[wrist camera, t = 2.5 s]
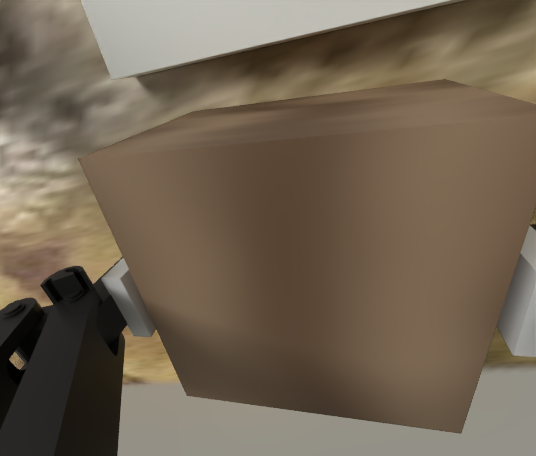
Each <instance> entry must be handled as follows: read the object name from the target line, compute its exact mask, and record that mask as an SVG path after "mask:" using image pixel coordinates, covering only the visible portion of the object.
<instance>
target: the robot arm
mask: <svg viewBox="0 0 536 456" xmlns="http://www.w3.org/2000/svg"><path fill="white" fill-rule="evenodd" d="M40 286H41V287H42V288H43V290H44V291H45V293H46V294H47V296H48V297H49V298H50V300H51V301H52V303H53V305H51V306H46V307H42V308H41V306H40V305H39V304H38V302H37V301H36V300H35V299H34V298H25V299H22V300H17V301H15V302H13V303H10V304H8V305H7V306H6V307H5V308H3V309H2V310H0V456H117V451H118V436H119V422H120V407H121V393H122V379H123V364H124V349H125V339H124V336H123V334H122V333H121V332H122V331H123V329H124V328H125V327H126V326H127V325H128V327H129V329H130V330H131V332H132V334H133V336H142V337H151V336H152V335H153V333H154V332H155V330H156V327H155V325H154V323H153V321H152V319H151V316H150V314H149V312H148V310H147V308H146V305H145V303H144V301H143V299H142V297H141V295H140V292H139V290H138V288H137V286H136V284H135V282H134V279H133V277H132V275H131V273H130V271H129V269H128V266H127V264H126V262H125V260H124V258H123V257H122V258H121V260H119V261H117V262H116V263H115V264H114V266H112V267H111V268H110V269H109V270H108V271H107V272H106V273H105V274H104V275H103V276H102V277H100V278H99V279H98V280H97V281H96V282H95V283H94V284H92V282H91V280H90V279H89V277H88V275H87V274H86V272H85V270H84V269H83V267H81V266H72V267H68V268H65V269H63V270H60V271H58V272H56V273H54V274H53V275H51V276H49V277H48V278H47V279H46V280H44V281H43V283H42V284H41V285H40ZM497 328H498V330H499V331H500V333H501V335H502V337H503V338H504V340H505V342H506V344H507V346H508V347H509V349H510V351H511V353H512V354H513V356H528V357H536V224H533V225H529V228H528V231H527V234H526V237H525V240H524V243H523V246H522V249H521V252H520V256H519V259H518V262H517V265H516V268H515V271H514V274H513V277H512V280H511V283H510V286H509V289H508V292H507V295H506V298H505V301H504V304H503V307H502V310H501V313H500V317H499V320H498V323H497ZM14 352H16V353H17V354H18V355H19V357H20V358H21V359H22V360H23V361H24V362H25V364H24V366H23V367H22V368H21V369H20V370H19V369H17V368H16V367H15V366H14V365H13V364H12V363H11V362H10V360H9V358H10V357H11V356H12V354H13V353H14Z"/></svg>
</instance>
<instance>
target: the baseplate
mask: <svg viewBox="0 0 536 456" xmlns="http://www.w3.org/2000/svg"><path fill="white" fill-rule="evenodd" d="M460 1H464V0H81V2H82V5H83V7H84V10H85V13H86V15H87V18H88V20H89V23H90V25H91V28H92V30H93V33H94V36H95V38H96V41H97V43H98V46H99V48H100V51H101V53H102V56H103V58H104V61H105V64H106V66H107V69H108V71H109V74H110V76H111V79H112V80H115V79H123V78H131V77H137V76H141V75H145V74H150V73H154V72H158V71H162V70H167V69H171V68H175V67H180V66H184V65H188V64H193V63H197V62H201V61H206V60H210V59H214V58H218V57H223V56H227V55H231V54H236V53H240V52H244V51H249V50H253V49H257V48H262V47H266V46H270V45H274V44H279V43H283V42H287V41H292V40H296V39H300V38H305V37H309V36H313V35H318V34H322V33H326V32H331V31H335V30H339V29H343V28H348V27H352V26H356V25H361V24H365V23H369V22H374V21H378V20H382V19H387V18H391V17H395V16H399V15H404V14H408V13H412V12H417V11H421V10H425V9H430V8H434V7H438V6H443V5H447V4H451V3H455V2H460Z"/></svg>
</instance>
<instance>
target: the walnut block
mask: <svg viewBox="0 0 536 456" xmlns="http://www.w3.org/2000/svg"><path fill="white" fill-rule="evenodd" d="M78 160H79V162H80V164H81V166H82V168H83V171H84V173H85V175H86V177H87V179H88V182H89V184H90V186H91V188H92V190H93V192H94V195H95V197H96V199H97V201H98V203H99V205H100V208H101V210H102V212H103V214H104V216H105V218H106V221H107V223H108V225H109V227H110V229H111V232H112V234H113V236H114V238H115V240H116V242H117V245H118V247H119V249H120V251H121V253H122V255H123V258H124V260H125V262H126V264H127V266H128V269H129V271H130V273H131V275H132V277H133V279H134V282H135V284H136V286H137V288H138V290H139V292H140V295H141V297H142V299H143V301H144V303H145V305H146V308H147V310H148V312H149V314H150V316H151V319H152V321H153V323H154V325H155V327H156V329H157V332H158V334H159V336H160V338H161V340H162V342H163V345H164V347H165V349H166V351H167V353H168V355H169V358H170V360H171V362H172V364H173V366H174V369H175V371H176V373H177V375H178V377H179V379H180V382H181V384H182V386H183V388H184V390H185V392H186V394H187V396H193V397H201V398H208V399H215V400H222V401H230V402H237V403H244V404H251V405H258V406H266V407H273V408H280V409H287V410H295V411H302V412H309V413H317V414H324V415H331V416H338V417H345V418H353V419H360V420H367V421H375V422H382V423H389V424H396V425H404V426H410V427H418V428H425V429H432V430H439V431H446V432H454V433H461V432H462V429H463V426H464V423H465V420H466V417H467V414H468V411H469V408H470V405H471V402H472V399H473V395H474V392H475V390H476V387H477V384H478V381H479V378H480V374H481V371H482V368H483V365H484V362H485V359H486V356H487V353H488V350H489V347H490V344H491V341H492V338H493V335H494V332H495V329H496V326H497V323H498V320H499V317H500V313H501V310H502V307H503V304H504V301H505V298H506V295H507V292H508V289H509V286H510V283H511V280H512V277H513V274H514V271H515V268H516V265H517V262H518V259H519V256H520V252H521V249H522V246H523V243H524V240H525V237H526V234H527V231H528V228H529V225H530V222H531V219H532V216H533V213H534V210H535V207H536V104H532V103H529V102H525V101H522V100H518V99H514V98H511V97H507V96H504V95H500V94H496V93H493V92H489V91H486V90H482V89H478V88H475V87H471V86H467V85H464V84H460V83H457V82H453V81H449V80H446V79H444V80H436V81H428V82H420V83H412V84H404V85H397V86H389V87H381V88H373V89H365V90H358V91H350V92H342V93H334V94H326V95H319V96H311V97H303V98H295V99H287V100H279V101H272V102H264V103H256V104H248V105H240V106H233V107H225V108H217V109H209V110H201V111H194V112H191V113H188V114H186V115H183V116H181V117H179V118H176V119H174V120H171V121H169V122H166V123H164V124H161V125H159V126H157V127H154V128H152V129H149V130H147V131H144V132H142V133H140V134H137V135H135V136H132V137H130V138H127V139H125V140H122V141H120V142H118V143H115V144H113V145H110V146H108V147H105V148H103V149H101V150H98V151H96V152H93V153H91V154H88V155H86V156H83V157H81V158H79V159H78Z"/></svg>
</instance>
